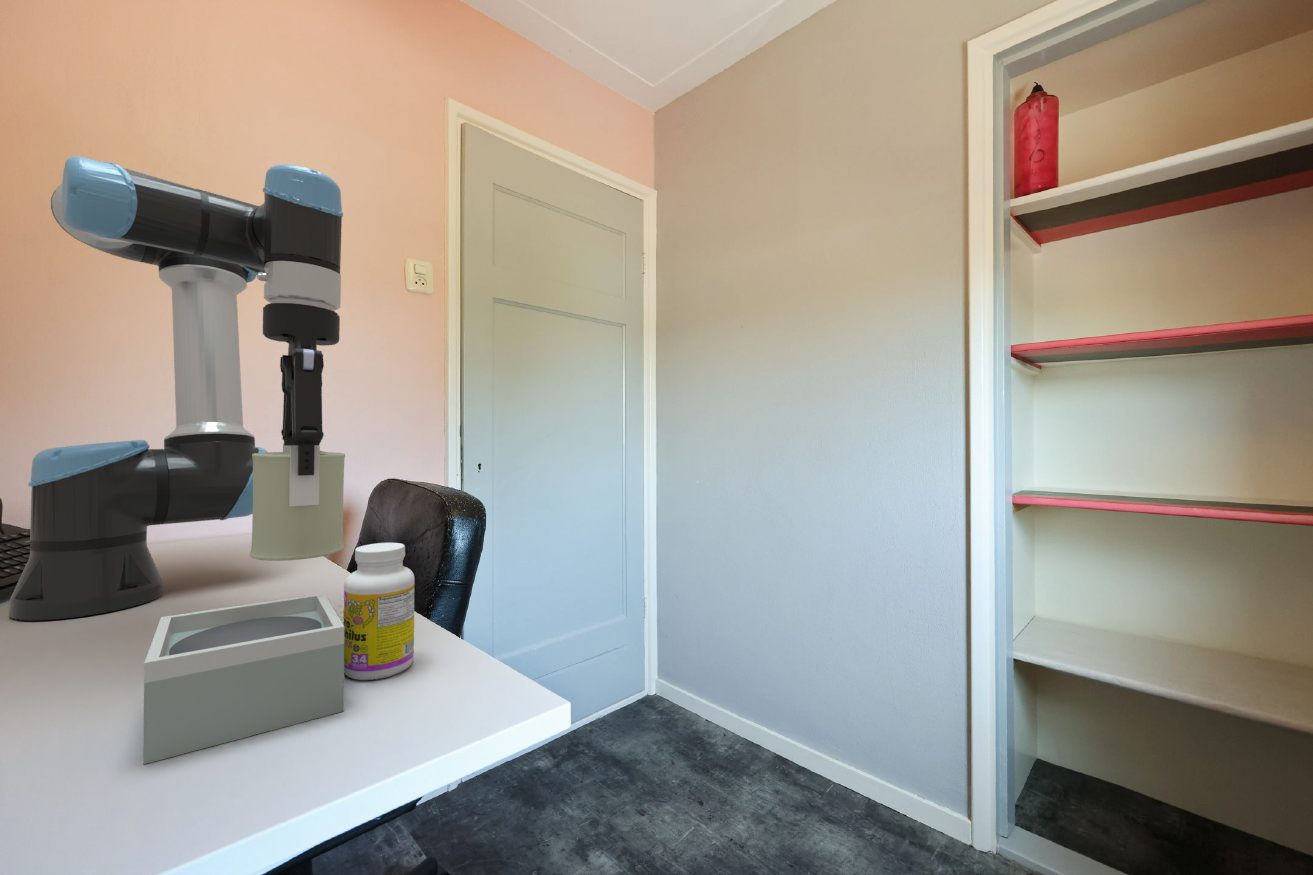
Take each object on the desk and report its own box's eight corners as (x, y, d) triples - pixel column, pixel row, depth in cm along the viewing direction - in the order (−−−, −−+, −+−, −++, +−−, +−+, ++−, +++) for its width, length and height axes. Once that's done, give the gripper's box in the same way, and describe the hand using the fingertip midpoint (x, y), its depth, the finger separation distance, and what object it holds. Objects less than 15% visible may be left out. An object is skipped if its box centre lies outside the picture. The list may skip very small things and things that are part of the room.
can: (298, 563, 58) (300, 451, 58) (228, 557, 60) (230, 449, 60) (361, 546, 68) (363, 449, 67) (298, 541, 69) (300, 447, 69)
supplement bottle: (333, 668, 57) (334, 546, 57) (398, 651, 62) (399, 538, 62) (356, 689, 53) (357, 556, 53) (424, 668, 57) (425, 546, 58)
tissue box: (160, 697, 51) (161, 616, 51) (323, 662, 59) (323, 593, 59) (143, 764, 40) (144, 662, 40) (343, 711, 48) (344, 626, 48)
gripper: (258, 317, 70) (255, 492, 70) (268, 282, 53) (265, 514, 53) (326, 325, 75) (323, 489, 75) (356, 296, 57) (352, 509, 58)
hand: (299, 500), depth 64 cm, fingers closed on can, 9 cm apart
